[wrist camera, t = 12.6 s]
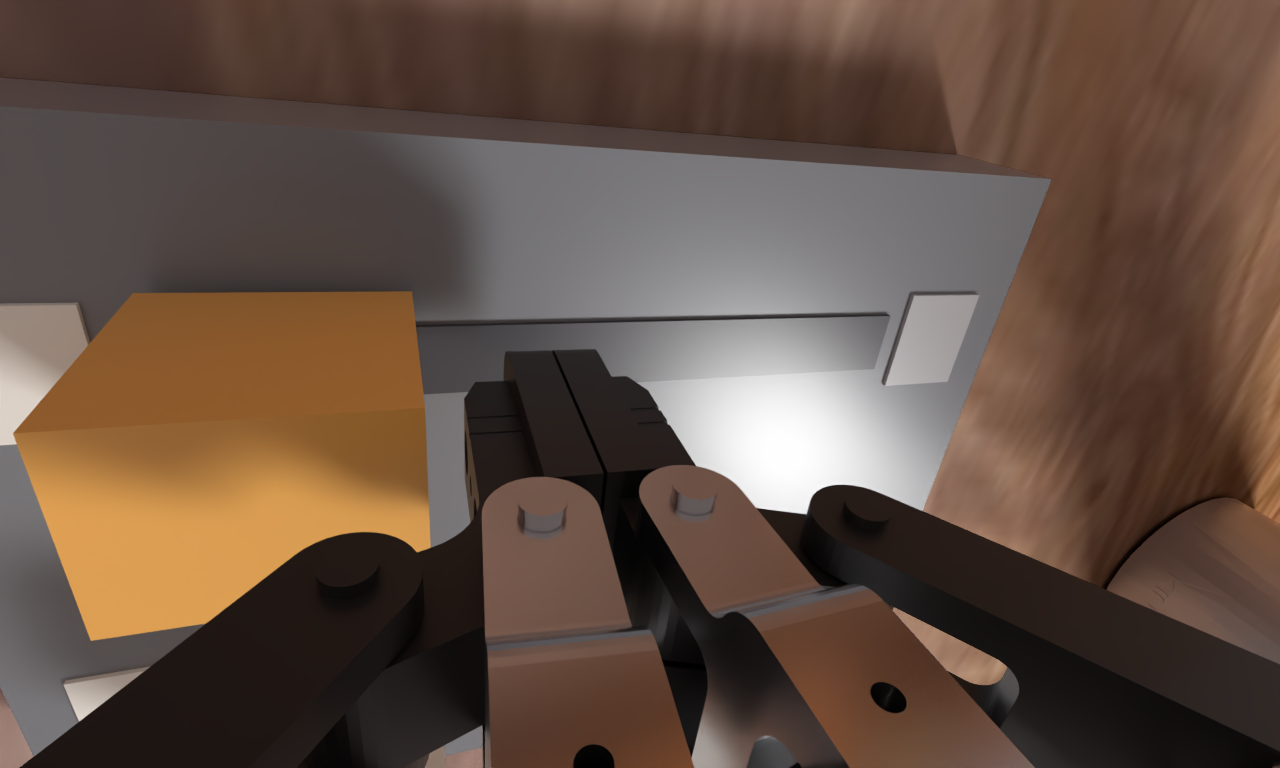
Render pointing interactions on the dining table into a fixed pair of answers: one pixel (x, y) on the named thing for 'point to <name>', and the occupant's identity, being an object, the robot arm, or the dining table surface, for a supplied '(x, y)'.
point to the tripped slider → (226, 446)
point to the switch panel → (499, 292)
